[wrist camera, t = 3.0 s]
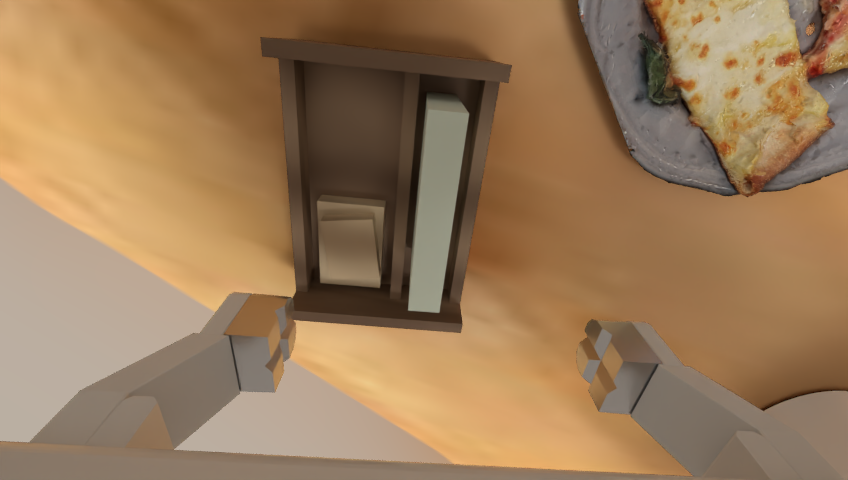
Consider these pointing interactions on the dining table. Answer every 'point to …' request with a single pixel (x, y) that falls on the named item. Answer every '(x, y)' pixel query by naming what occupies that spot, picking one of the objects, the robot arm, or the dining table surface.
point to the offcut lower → (350, 206)
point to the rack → (376, 166)
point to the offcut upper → (351, 245)
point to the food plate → (726, 88)
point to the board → (436, 198)
